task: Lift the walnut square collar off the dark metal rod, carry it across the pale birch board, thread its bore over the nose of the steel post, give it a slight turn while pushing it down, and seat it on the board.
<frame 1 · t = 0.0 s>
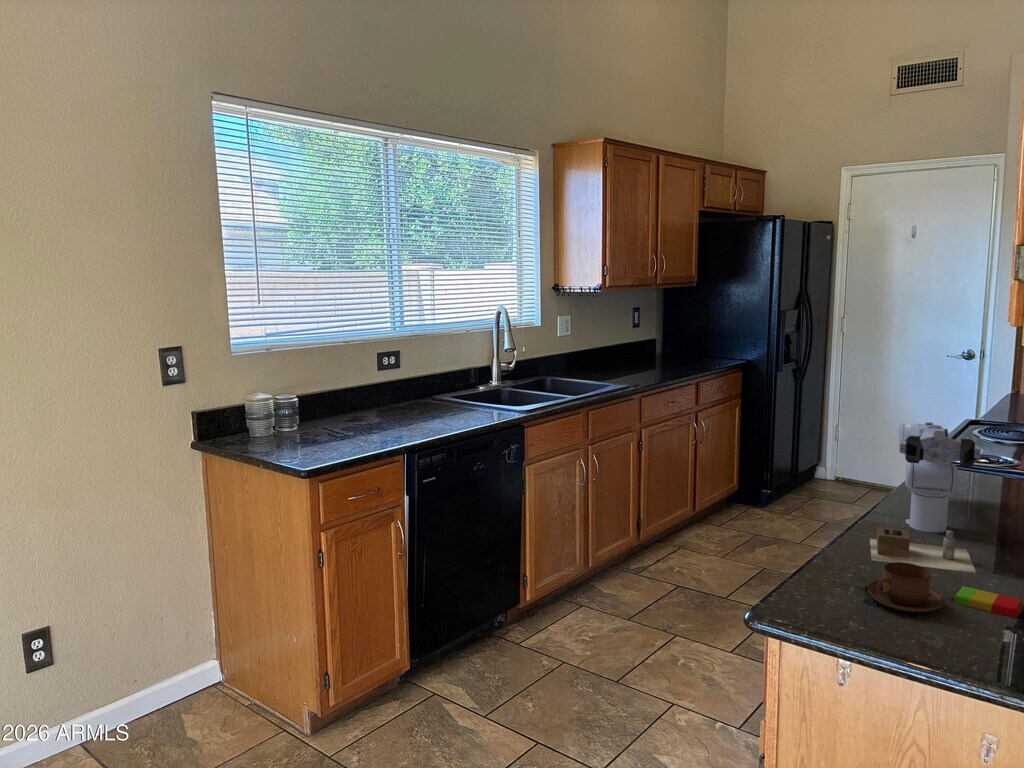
hand: (943, 456, 150), 22 cm above the counter, tool horizontal, fingers open, 7 cm apart
cup and saucer: (904, 604, 135), on the counter
popsicle: (969, 603, 135), on the counter
fitting board: (919, 559, 154), on the counter
collar: (892, 551, 156), point 1 cm above the counter, touching fitting board
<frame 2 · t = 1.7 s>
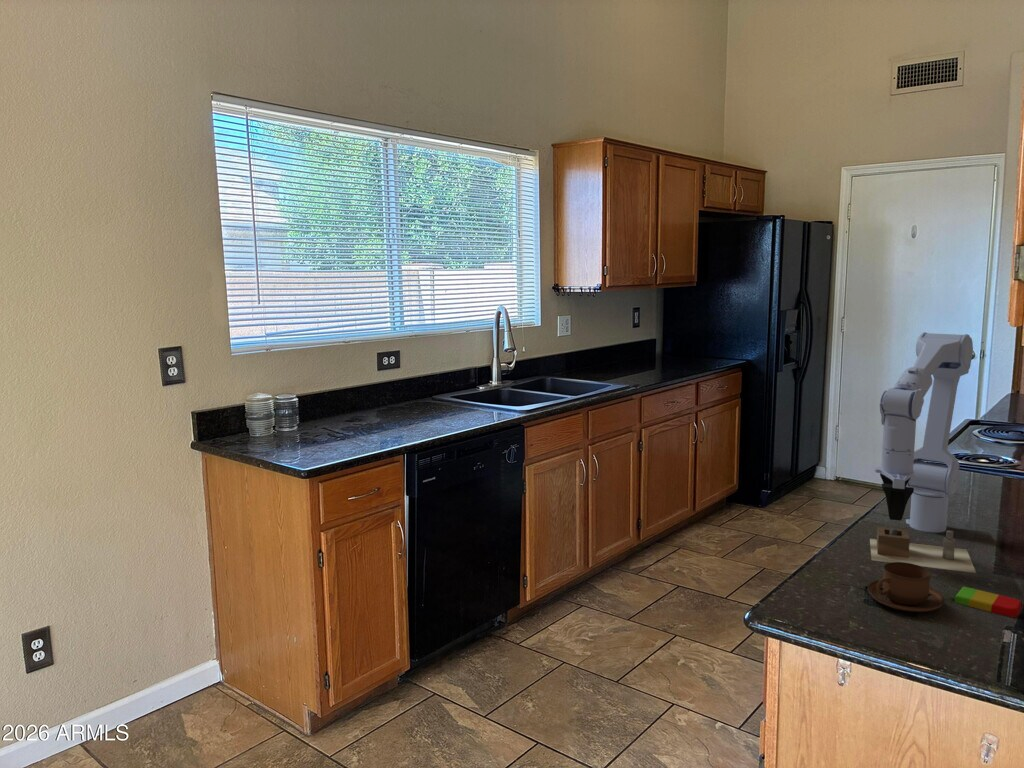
hand: (894, 513, 155), 9 cm above the counter, tool pointing down, fingers open, 7 cm apart
nothing on the counter moved.
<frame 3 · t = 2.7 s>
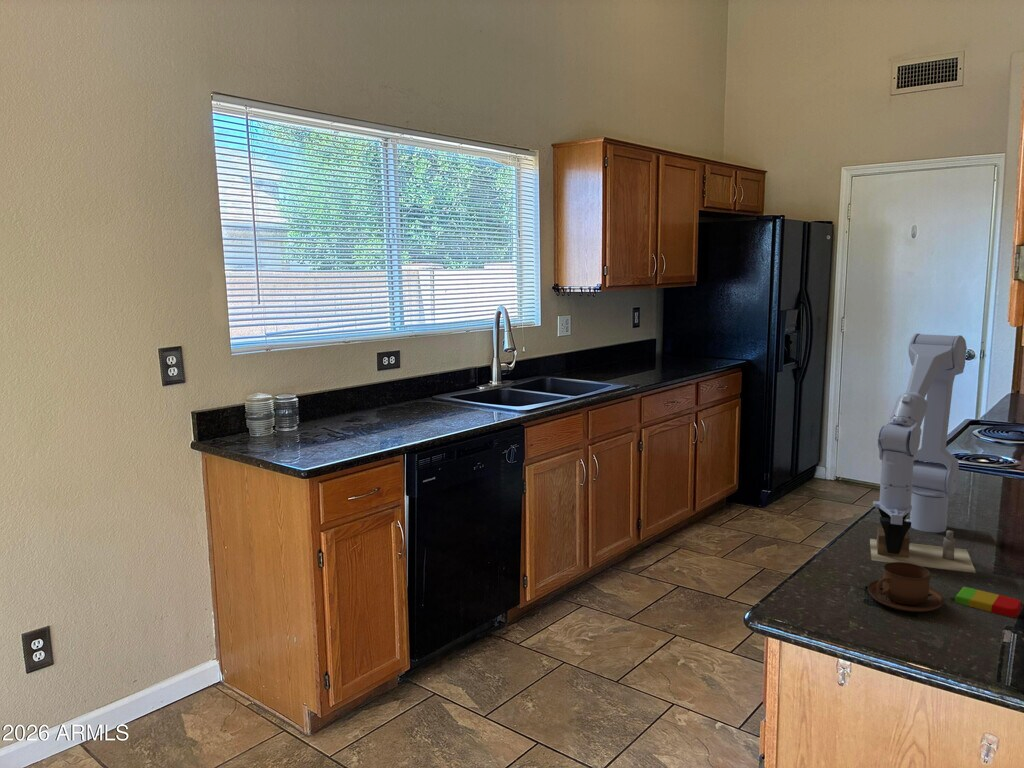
hand: (892, 547, 156), 2 cm above the counter, tool pointing down, fingers closed on collar, 6 cm apart
collar: (892, 551, 156), point 1 cm above the counter, touching fitting board, gripper
everything else where it was.
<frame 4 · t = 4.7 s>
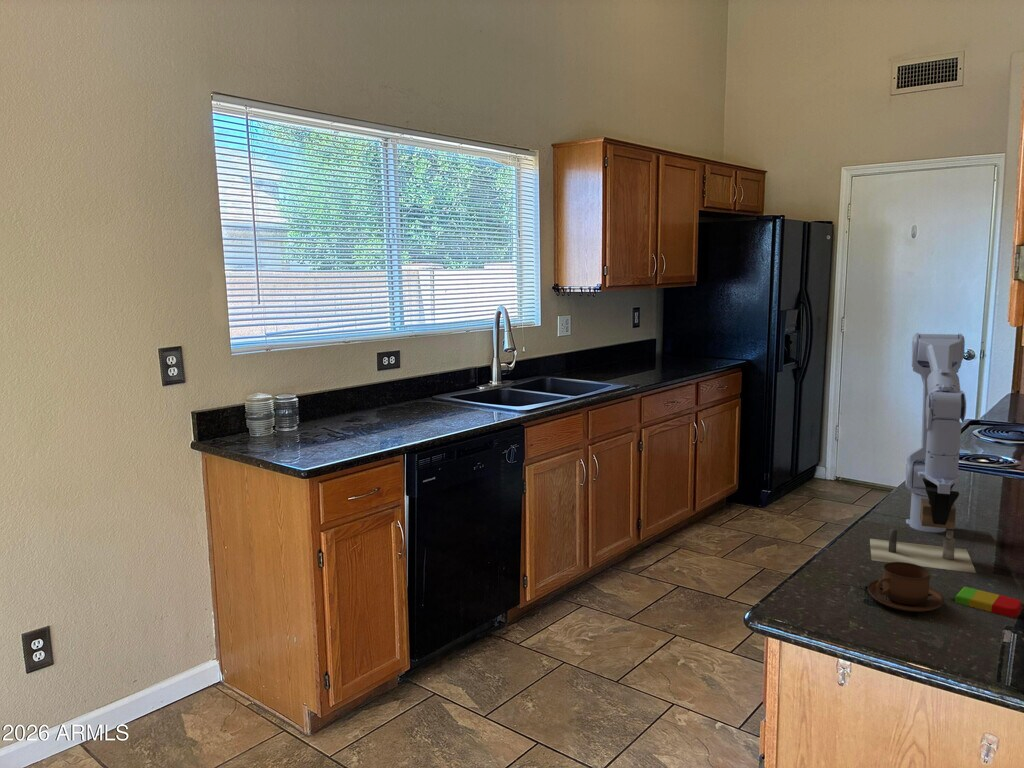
hand: (937, 519, 152), 9 cm above the counter, tool pointing down, fingers closed on collar, 6 cm apart
collar: (936, 523, 152), point 8 cm above the counter, touching gripper
everything else where it was.
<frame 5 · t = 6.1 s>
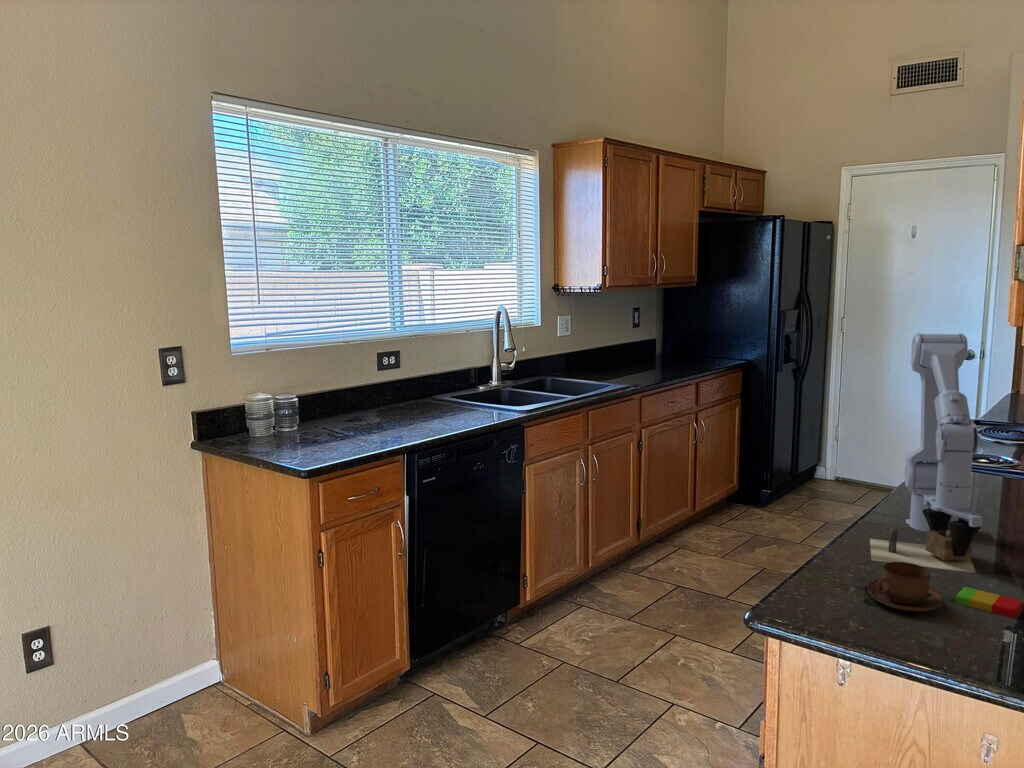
hand: (948, 550, 152), 3 cm above the counter, tool pointing down, fingers closed on collar, 6 cm apart
collar: (947, 554, 152), point 2 cm above the counter, touching gripper
everything else where it was.
when the fingers open (3 cm above the counter, at t = 6.6 s): collar stays where it is, resting on fitting board.
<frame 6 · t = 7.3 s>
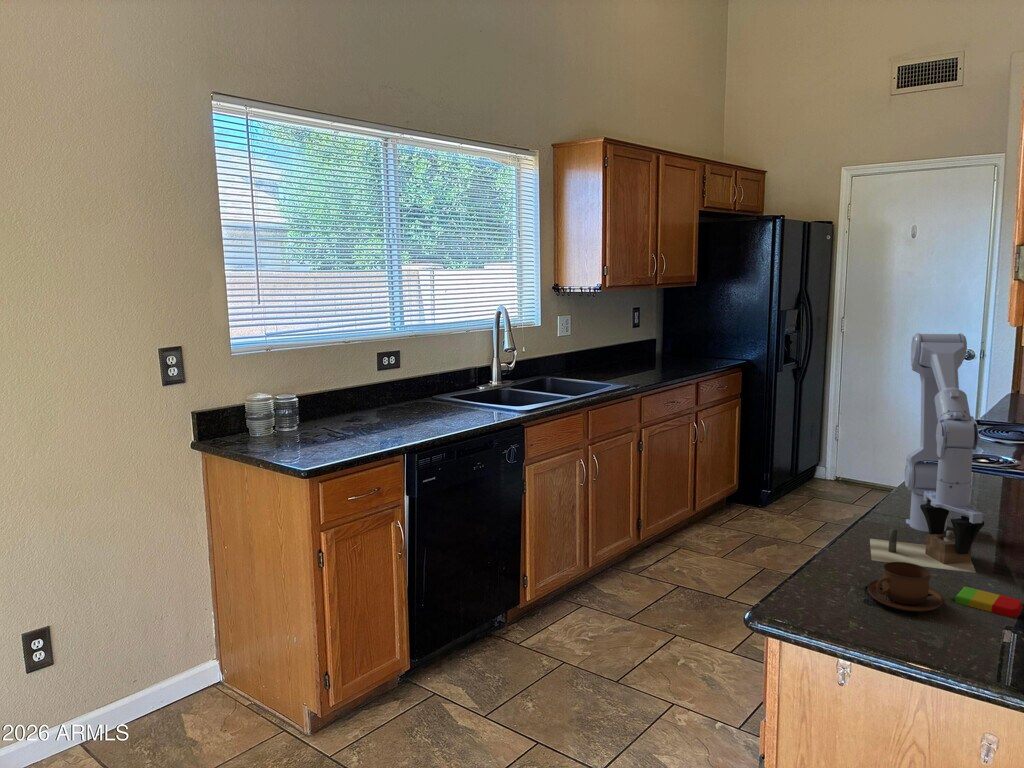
hand: (948, 546, 152), 3 cm above the counter, tool pointing down, fingers open, 7 cm apart
collar: (947, 558, 152), point 1 cm above the counter, touching fitting board
everything else where it was.
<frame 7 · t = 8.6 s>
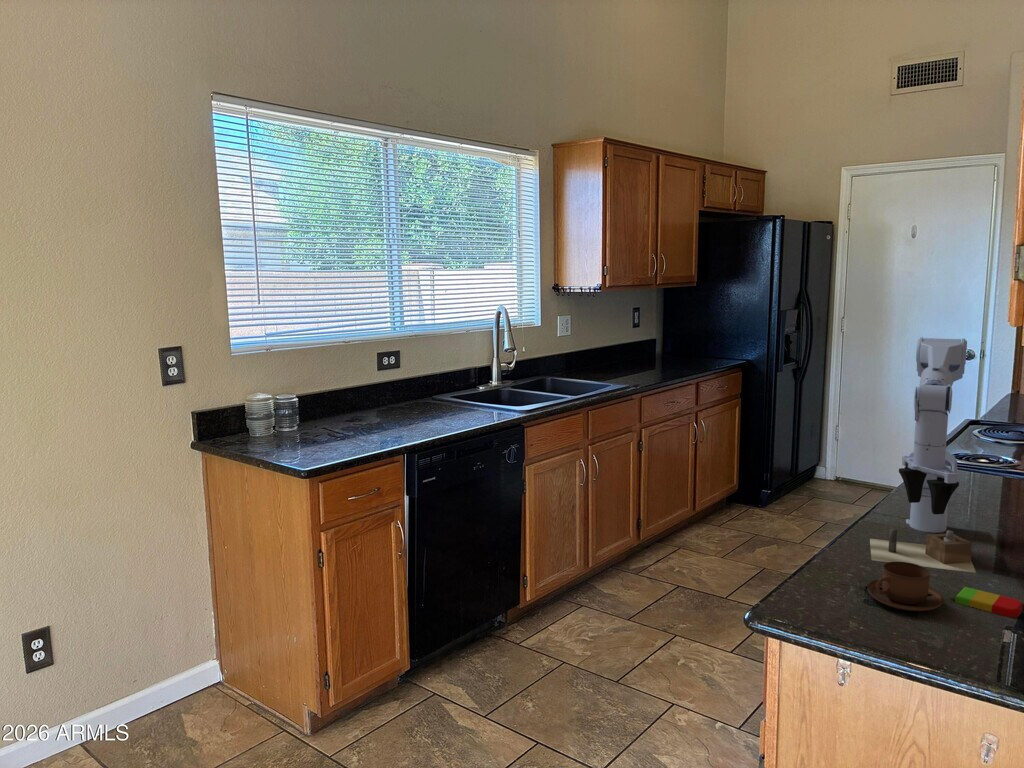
hand: (925, 507, 157), 9 cm above the counter, tool pointing down, fingers open, 7 cm apart
nothing on the counter moved.
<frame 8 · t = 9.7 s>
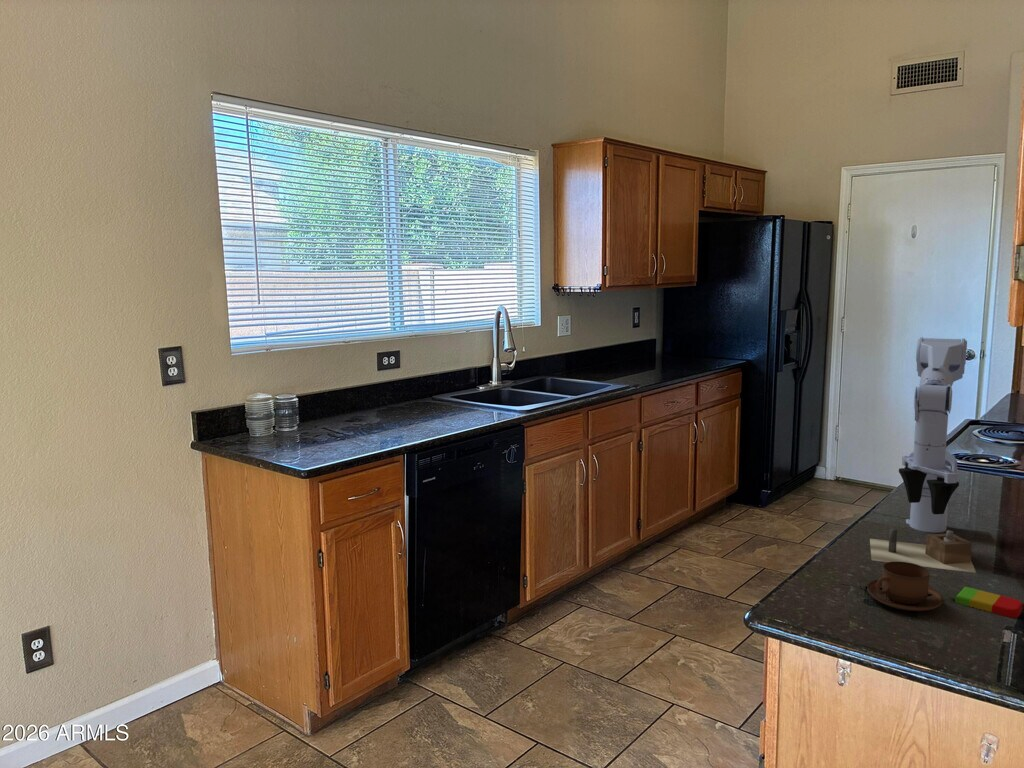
hand: (925, 507, 157), 9 cm above the counter, tool pointing down, fingers open, 7 cm apart
nothing on the counter moved.
at the end: collar 0.1 cm from the target spot on the fitting board, point 1.0 cm above the fitting board's base; collar tilted 0°; the gripper is holding nothing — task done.
